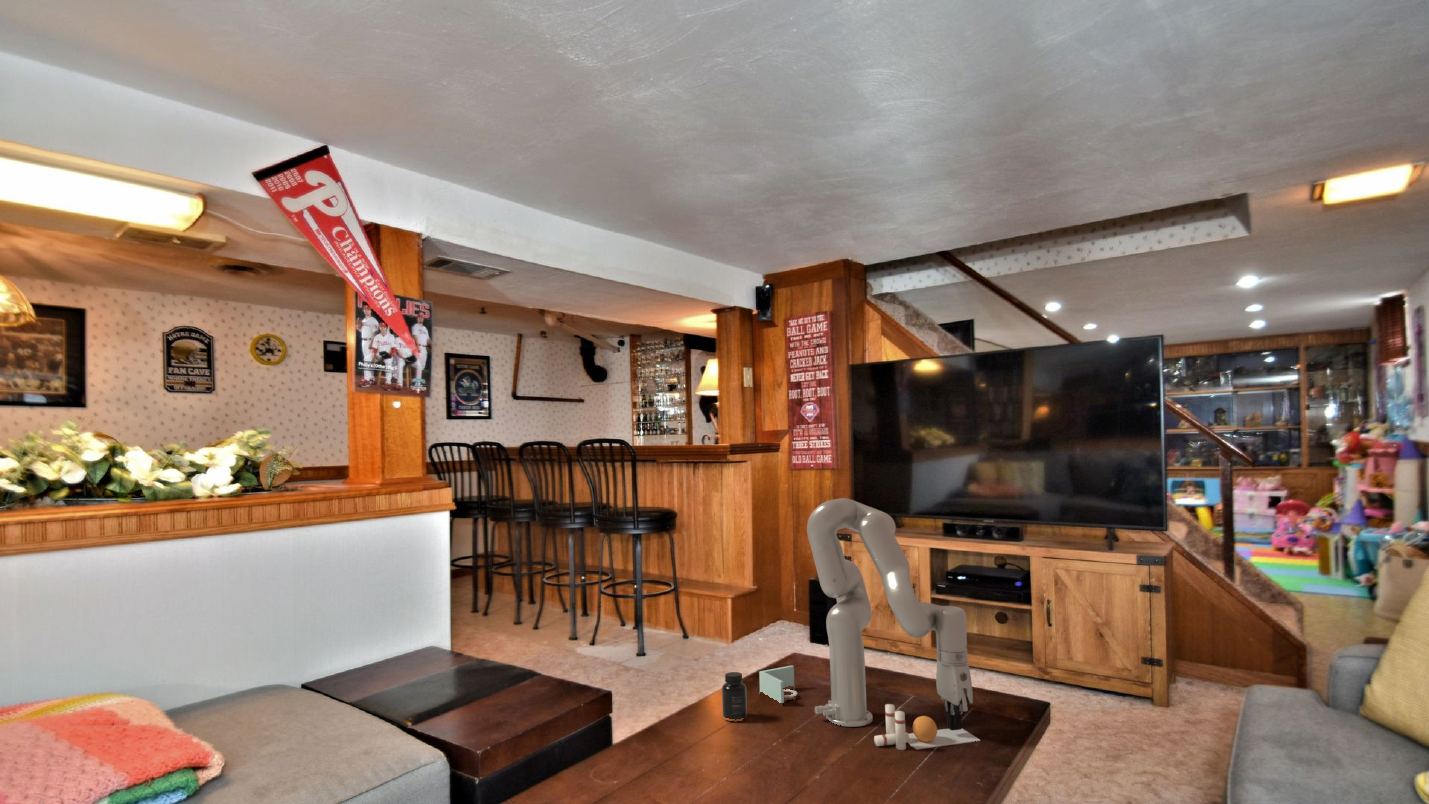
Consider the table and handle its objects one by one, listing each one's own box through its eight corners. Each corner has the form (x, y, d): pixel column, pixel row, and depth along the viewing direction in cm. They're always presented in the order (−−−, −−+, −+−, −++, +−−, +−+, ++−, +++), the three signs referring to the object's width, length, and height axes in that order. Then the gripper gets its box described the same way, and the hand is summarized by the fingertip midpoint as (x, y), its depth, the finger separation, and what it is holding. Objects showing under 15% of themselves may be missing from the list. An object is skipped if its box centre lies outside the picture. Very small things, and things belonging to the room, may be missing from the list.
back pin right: (899, 750, 174) (897, 714, 175) (894, 746, 176) (892, 711, 177) (908, 749, 175) (906, 713, 175) (903, 745, 177) (901, 710, 178)
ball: (931, 714, 177) (946, 732, 178) (918, 707, 183) (933, 725, 183) (916, 732, 176) (931, 750, 176) (903, 725, 181) (918, 742, 182)
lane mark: (916, 749, 174) (916, 748, 174) (898, 735, 183) (898, 734, 183) (980, 740, 179) (980, 739, 179) (959, 727, 187) (959, 726, 187)
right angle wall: (781, 708, 206) (780, 681, 207) (759, 696, 217) (759, 671, 217) (815, 701, 212) (814, 675, 212) (792, 689, 222) (791, 665, 223)
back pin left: (889, 742, 179) (887, 707, 179) (884, 738, 181) (883, 704, 182) (898, 741, 179) (896, 706, 180) (893, 737, 182) (892, 703, 182)
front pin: (910, 743, 177) (878, 747, 175) (905, 741, 180) (874, 744, 178) (909, 733, 178) (878, 737, 176) (904, 730, 180) (873, 734, 178)
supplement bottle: (750, 715, 200) (749, 671, 201) (743, 723, 193) (742, 678, 194) (727, 712, 202) (726, 669, 203) (719, 721, 196) (718, 676, 197)
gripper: (982, 662, 177) (984, 738, 176) (948, 647, 192) (951, 716, 190) (955, 665, 175) (958, 741, 174) (923, 649, 190) (925, 719, 189)
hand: (954, 728), depth 182 cm, fingers closed
